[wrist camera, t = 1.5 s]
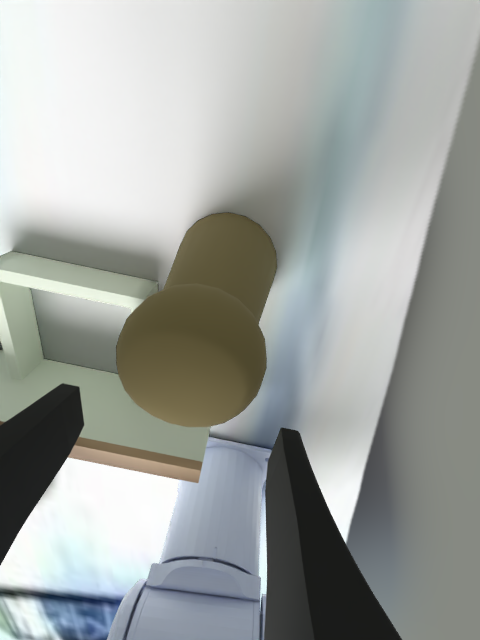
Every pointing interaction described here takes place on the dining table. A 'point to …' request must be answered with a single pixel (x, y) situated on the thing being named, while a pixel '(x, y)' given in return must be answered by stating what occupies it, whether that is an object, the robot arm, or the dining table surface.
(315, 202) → the dining table surface
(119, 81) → the dining table surface
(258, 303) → the cork
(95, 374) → the stand
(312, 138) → the dining table surface
